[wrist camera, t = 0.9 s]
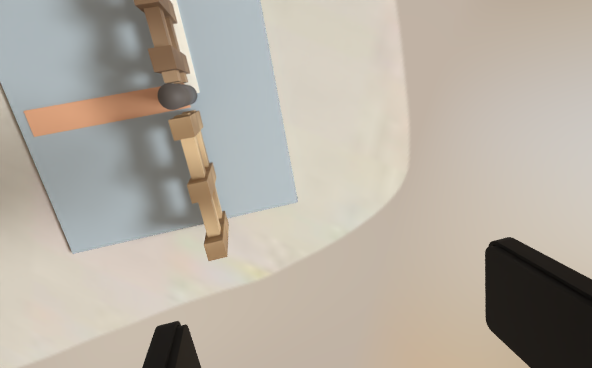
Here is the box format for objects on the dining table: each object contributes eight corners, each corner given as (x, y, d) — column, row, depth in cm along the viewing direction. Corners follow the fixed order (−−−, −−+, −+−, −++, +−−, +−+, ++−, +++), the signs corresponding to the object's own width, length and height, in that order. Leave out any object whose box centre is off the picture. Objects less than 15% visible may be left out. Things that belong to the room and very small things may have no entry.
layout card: (-46, -38, 20) (-53, -41, 20) (245, -75, 23) (245, -78, 22) (75, 251, 26) (72, 254, 26) (297, 200, 28) (298, 202, 28)
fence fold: (182, 112, 24) (167, 118, 19) (198, 109, 24) (188, 114, 19) (213, 227, 27) (208, 261, 22) (228, 224, 27) (227, 256, 22)
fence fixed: (136, -57, 22) (93, -122, 15) (158, -60, 22) (125, -125, 15) (181, 106, 25) (161, 112, 18) (200, 102, 25) (187, 107, 18)
